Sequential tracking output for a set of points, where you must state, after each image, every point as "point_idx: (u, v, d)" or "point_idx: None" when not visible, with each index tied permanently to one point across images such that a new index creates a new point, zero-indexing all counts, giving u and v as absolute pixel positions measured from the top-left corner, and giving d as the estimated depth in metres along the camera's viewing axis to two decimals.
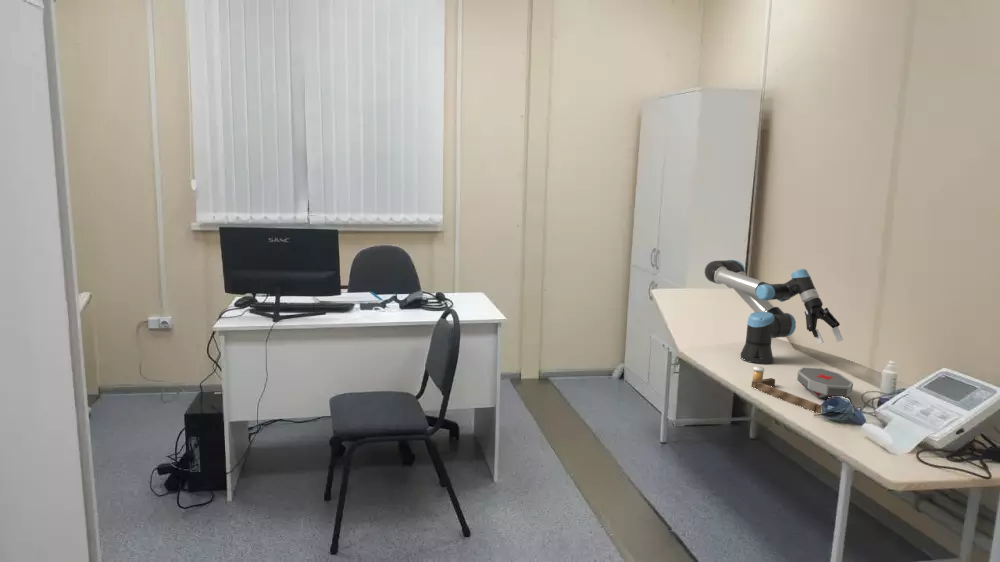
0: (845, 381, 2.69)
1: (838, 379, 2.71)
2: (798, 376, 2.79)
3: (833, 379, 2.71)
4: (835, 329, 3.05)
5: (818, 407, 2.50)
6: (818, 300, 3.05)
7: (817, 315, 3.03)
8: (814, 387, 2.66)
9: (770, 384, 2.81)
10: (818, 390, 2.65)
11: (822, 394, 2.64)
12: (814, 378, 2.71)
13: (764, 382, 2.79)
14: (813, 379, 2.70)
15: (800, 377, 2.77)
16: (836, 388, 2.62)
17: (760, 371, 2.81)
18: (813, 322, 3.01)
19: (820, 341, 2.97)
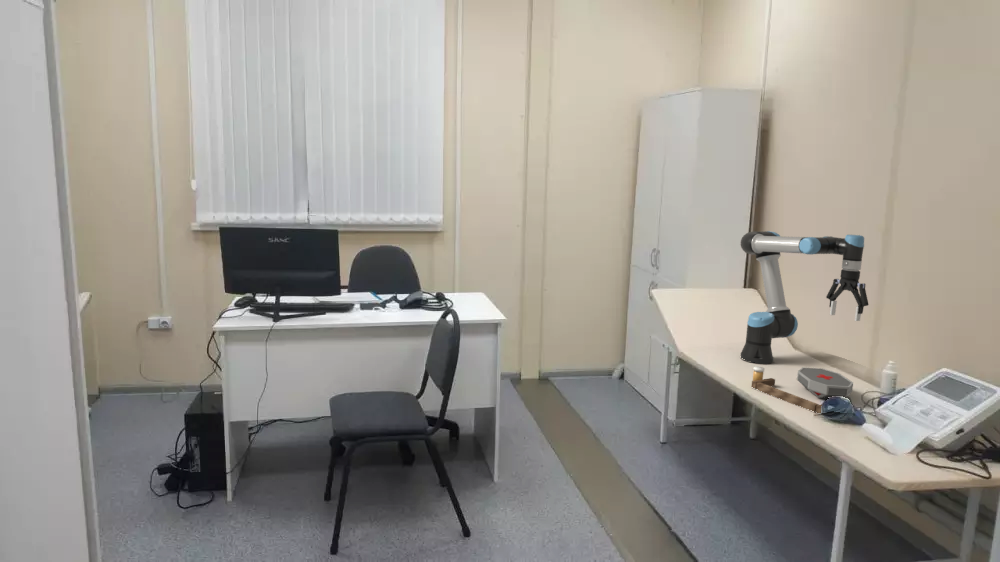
0: (845, 381, 2.69)
1: (838, 379, 2.71)
2: (798, 376, 2.79)
3: (833, 379, 2.71)
4: None
5: (818, 407, 2.50)
6: (844, 273, 2.88)
7: (840, 287, 2.92)
8: (814, 387, 2.66)
9: (770, 384, 2.81)
10: (818, 390, 2.65)
11: (822, 394, 2.64)
12: (814, 378, 2.71)
13: (764, 382, 2.79)
14: (813, 379, 2.70)
15: (800, 377, 2.77)
16: (836, 388, 2.62)
17: (760, 371, 2.81)
18: None
19: None
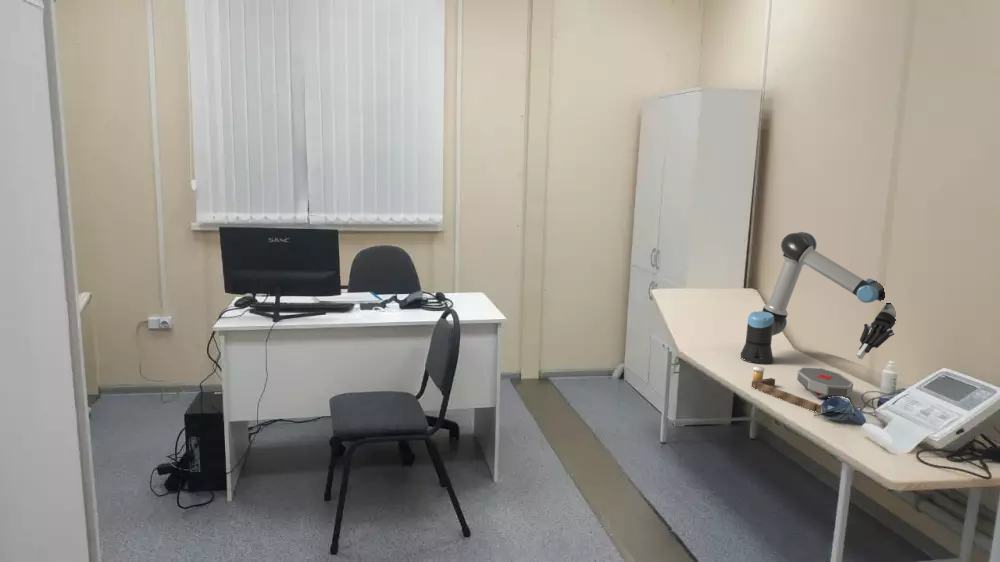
0: (845, 381, 2.69)
1: (838, 379, 2.71)
2: (798, 376, 2.79)
3: (833, 379, 2.71)
4: None
5: (818, 407, 2.50)
6: (881, 314, 2.86)
7: (872, 328, 2.86)
8: (814, 387, 2.66)
9: (770, 384, 2.81)
10: (818, 390, 2.65)
11: (822, 394, 2.64)
12: (814, 378, 2.71)
13: (764, 382, 2.79)
14: (813, 379, 2.70)
15: (800, 377, 2.77)
16: (836, 388, 2.62)
17: (760, 371, 2.81)
18: None
19: None
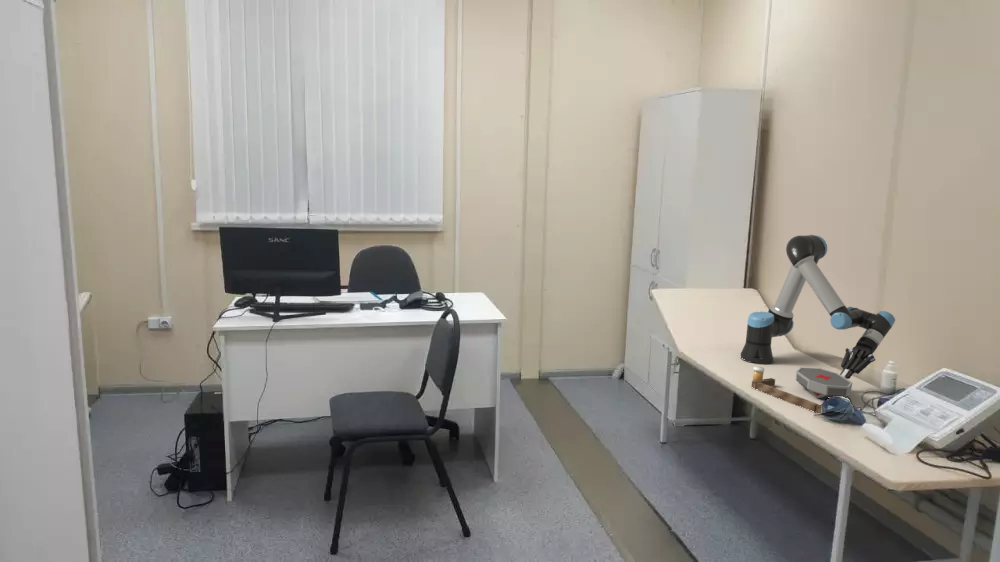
0: (843, 381, 2.69)
1: (837, 379, 2.71)
2: (797, 376, 2.79)
3: (832, 379, 2.71)
4: None
5: (818, 407, 2.50)
6: (863, 339, 2.83)
7: (854, 353, 2.83)
8: (813, 387, 2.66)
9: (770, 384, 2.81)
10: (818, 390, 2.64)
11: (822, 394, 2.64)
12: (813, 378, 2.71)
13: (764, 382, 2.79)
14: (812, 379, 2.69)
15: (799, 377, 2.77)
16: (836, 388, 2.61)
17: (760, 371, 2.81)
18: None
19: None
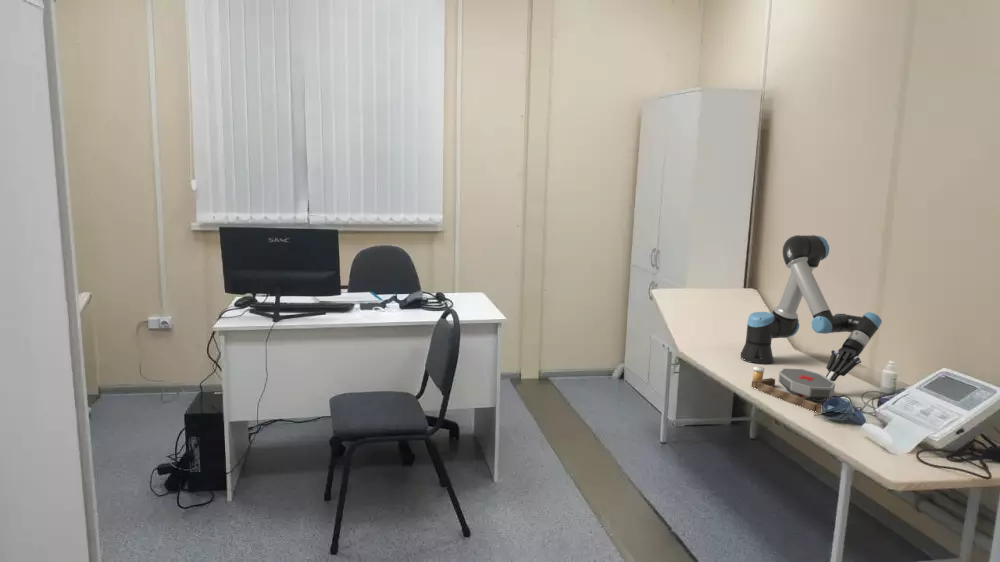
0: (826, 382, 2.67)
1: (820, 380, 2.69)
2: (780, 377, 2.76)
3: (815, 380, 2.68)
4: None
5: (818, 407, 2.50)
6: (849, 340, 2.78)
7: (839, 355, 2.78)
8: (797, 389, 2.63)
9: (770, 384, 2.81)
10: (801, 392, 2.62)
11: (805, 396, 2.61)
12: (796, 379, 2.68)
13: (764, 382, 2.79)
14: (795, 380, 2.66)
15: (782, 378, 2.74)
16: (819, 389, 2.58)
17: (760, 371, 2.81)
18: None
19: None
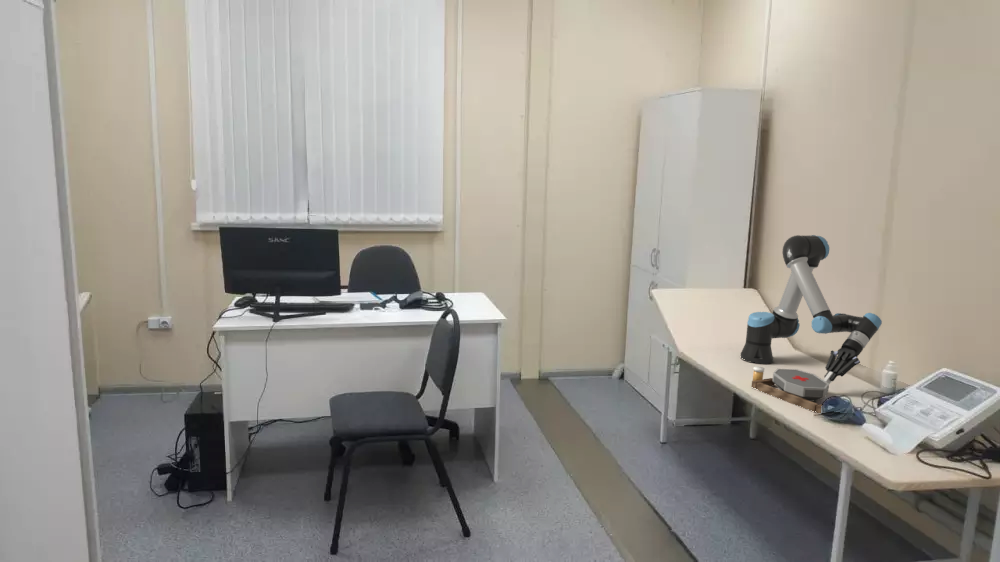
0: (820, 382, 2.66)
1: (814, 380, 2.68)
2: (774, 378, 2.76)
3: (809, 380, 2.68)
4: None
5: (818, 407, 2.50)
6: (848, 341, 2.78)
7: (838, 356, 2.78)
8: (790, 389, 2.62)
9: (770, 384, 2.81)
10: (794, 392, 2.61)
11: (798, 396, 2.60)
12: (790, 380, 2.68)
13: (764, 382, 2.79)
14: (789, 381, 2.66)
15: (776, 379, 2.73)
16: (813, 389, 2.58)
17: (760, 371, 2.81)
18: None
19: None
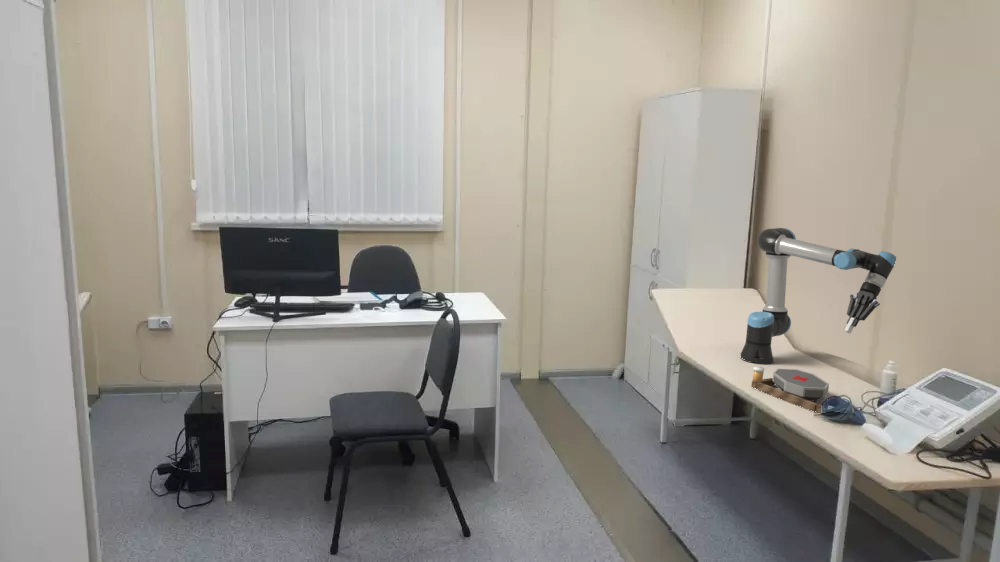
0: (820, 382, 2.66)
1: (814, 380, 2.68)
2: (774, 378, 2.76)
3: (809, 380, 2.68)
4: None
5: (818, 407, 2.50)
6: (865, 284, 2.85)
7: (858, 300, 2.87)
8: (790, 389, 2.62)
9: (770, 384, 2.81)
10: (794, 392, 2.61)
11: (798, 396, 2.60)
12: (790, 380, 2.68)
13: (764, 382, 2.79)
14: (789, 381, 2.66)
15: (776, 379, 2.73)
16: (812, 389, 2.58)
17: (760, 371, 2.81)
18: None
19: None
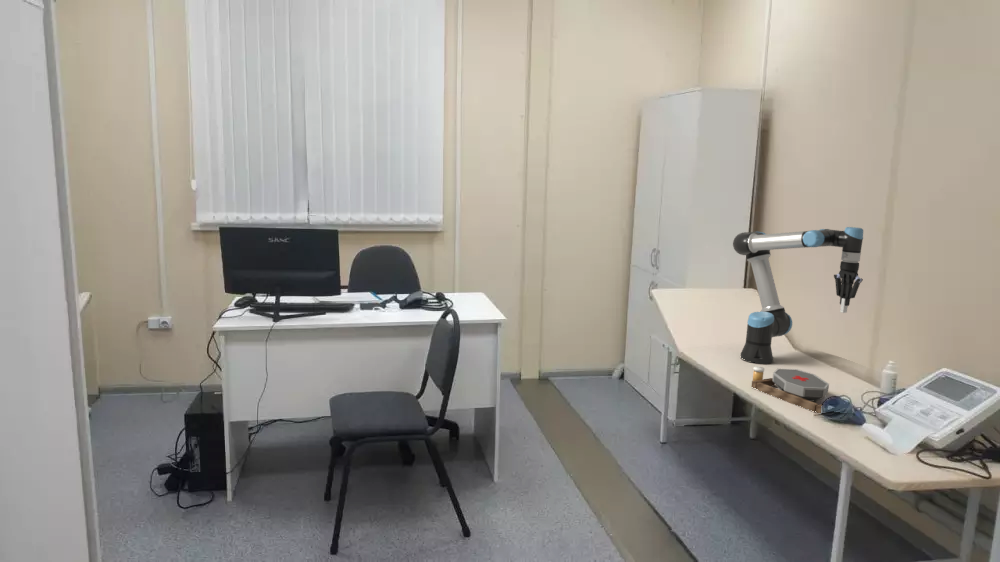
0: (820, 382, 2.66)
1: (814, 380, 2.68)
2: (774, 378, 2.76)
3: (809, 380, 2.68)
4: None
5: (818, 407, 2.50)
6: (843, 265, 2.95)
7: (842, 280, 2.98)
8: (790, 389, 2.62)
9: (770, 384, 2.81)
10: (794, 392, 2.61)
11: (798, 396, 2.60)
12: (790, 380, 2.68)
13: (764, 382, 2.79)
14: (789, 381, 2.66)
15: (776, 379, 2.73)
16: (813, 389, 2.58)
17: (760, 371, 2.81)
18: None
19: None
